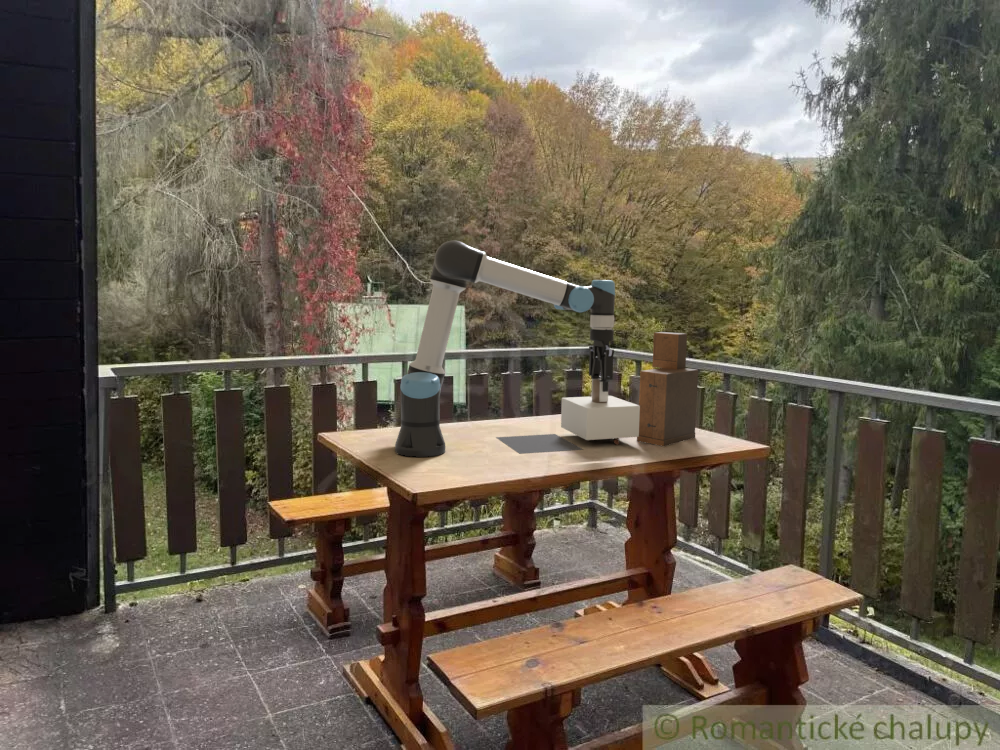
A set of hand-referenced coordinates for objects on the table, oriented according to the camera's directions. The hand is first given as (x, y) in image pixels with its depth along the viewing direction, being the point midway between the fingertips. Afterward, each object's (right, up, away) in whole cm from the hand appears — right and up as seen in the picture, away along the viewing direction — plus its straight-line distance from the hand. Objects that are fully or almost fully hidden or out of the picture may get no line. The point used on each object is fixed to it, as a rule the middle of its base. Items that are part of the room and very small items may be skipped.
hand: (599, 399), depth 238 cm
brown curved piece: (+2, -14, -1) cm, 14 cm away
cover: (0, -10, +1) cm, 11 cm away
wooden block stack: (+23, -13, +7) cm, 28 cm away
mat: (-20, -14, -5) cm, 25 cm away
